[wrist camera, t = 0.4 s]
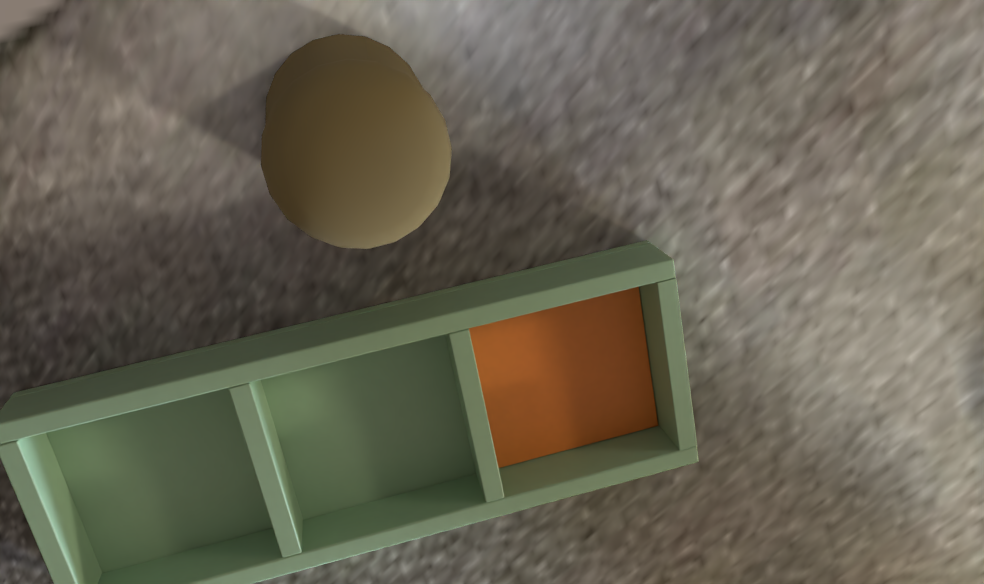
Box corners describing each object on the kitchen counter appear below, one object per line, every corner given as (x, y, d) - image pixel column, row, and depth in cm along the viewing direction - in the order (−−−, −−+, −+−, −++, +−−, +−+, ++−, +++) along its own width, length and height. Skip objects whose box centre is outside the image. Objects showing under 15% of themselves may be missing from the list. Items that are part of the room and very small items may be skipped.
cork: (376, 225, 35) (400, 316, 24) (234, 145, 33) (195, 206, 23) (458, 91, 34) (518, 127, 23) (316, 0, 32) (314, -5, 22)
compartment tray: (13, 392, 34) (-15, 426, 31) (647, 239, 37) (674, 258, 34) (92, 586, 37) (73, 633, 34) (672, 430, 40) (699, 462, 37)
